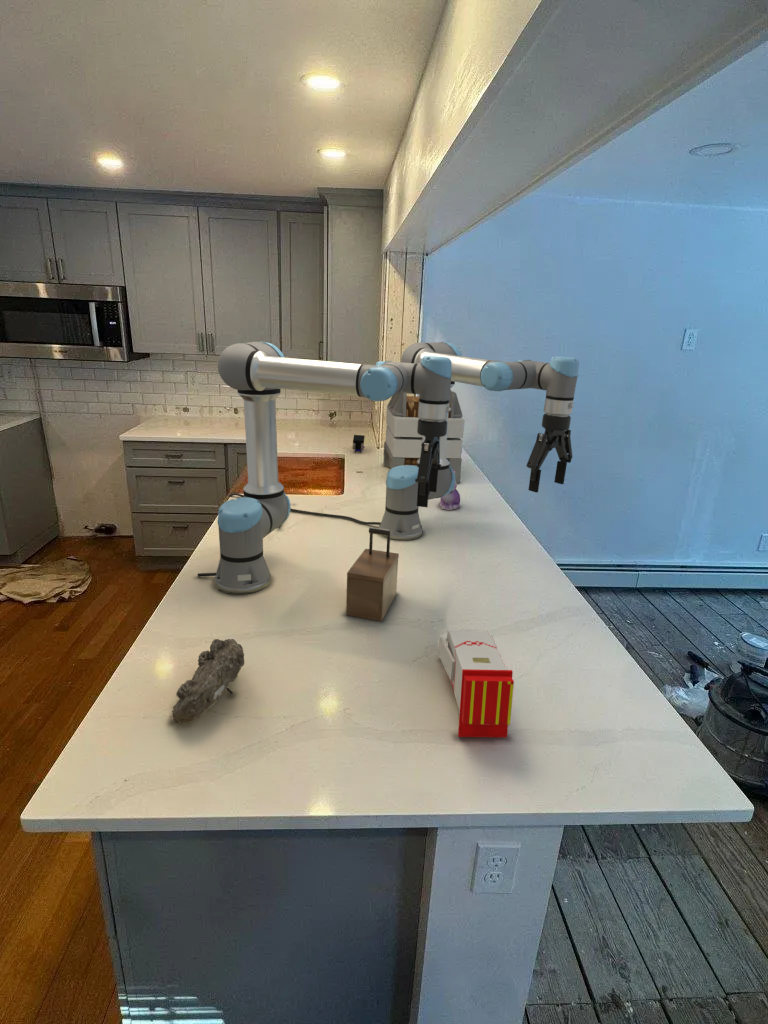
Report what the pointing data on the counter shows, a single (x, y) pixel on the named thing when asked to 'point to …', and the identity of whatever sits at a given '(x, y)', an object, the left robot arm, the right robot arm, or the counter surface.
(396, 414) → the white wooden crate
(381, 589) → the chest
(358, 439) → the figurine character
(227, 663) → the fossil
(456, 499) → the figurine
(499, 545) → the counter surface
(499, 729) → the toy
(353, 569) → the lid
